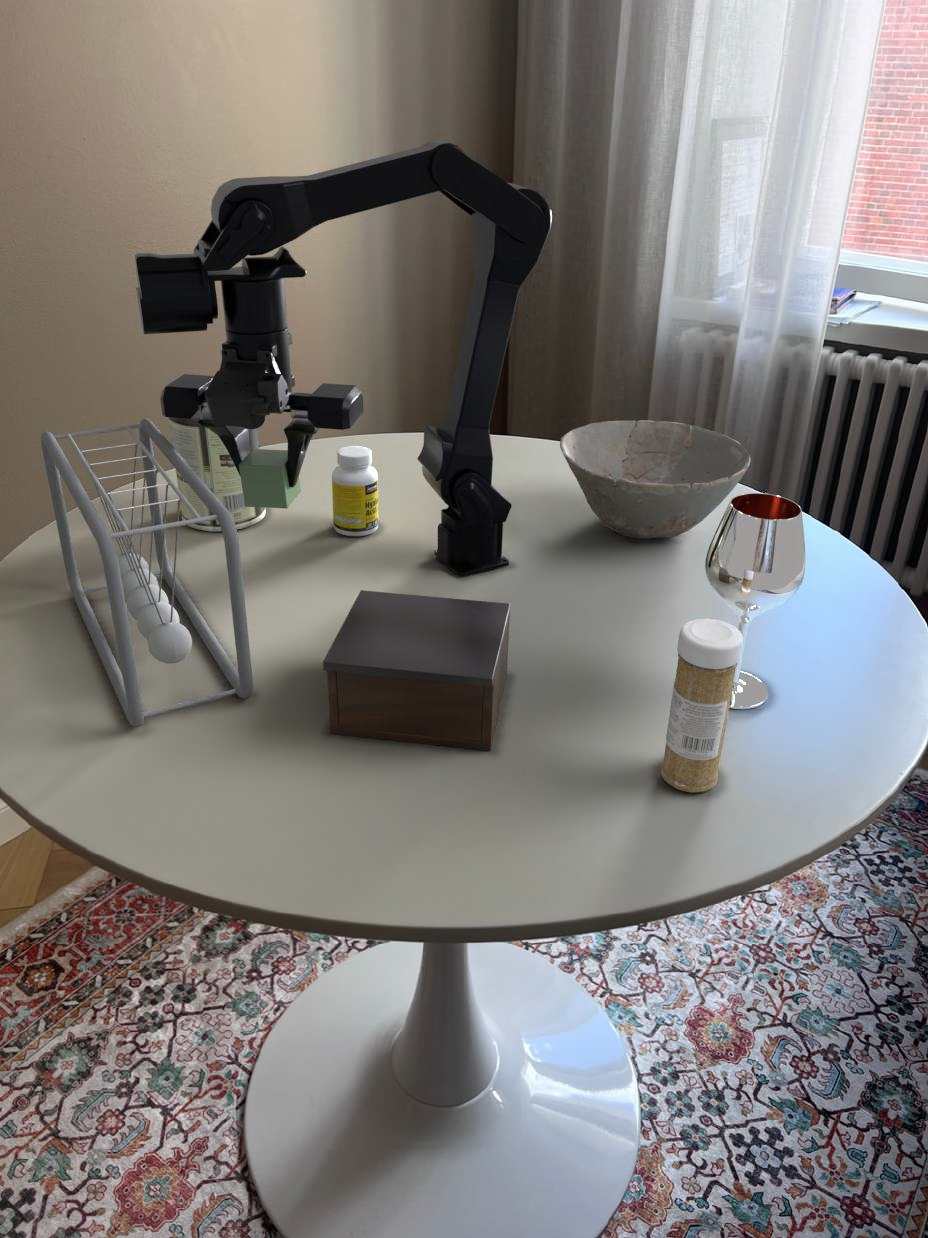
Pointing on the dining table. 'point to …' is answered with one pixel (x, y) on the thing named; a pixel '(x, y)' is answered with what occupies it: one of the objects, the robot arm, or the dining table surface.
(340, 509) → the supplement bottle
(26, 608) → the dining table surface
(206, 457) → the coffee can
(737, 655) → the sprinkles bottle
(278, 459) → the block
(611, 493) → the ceramic bowl
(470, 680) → the lid
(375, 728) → the walnut box
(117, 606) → the newton's cradle
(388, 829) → the dining table surface
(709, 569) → the wineglass
